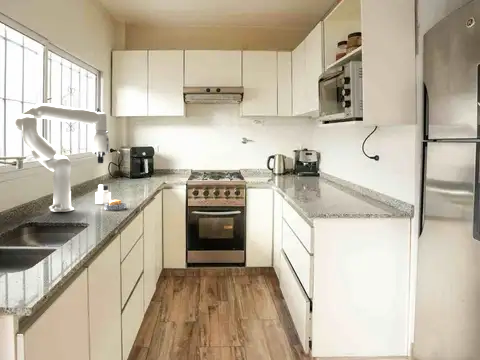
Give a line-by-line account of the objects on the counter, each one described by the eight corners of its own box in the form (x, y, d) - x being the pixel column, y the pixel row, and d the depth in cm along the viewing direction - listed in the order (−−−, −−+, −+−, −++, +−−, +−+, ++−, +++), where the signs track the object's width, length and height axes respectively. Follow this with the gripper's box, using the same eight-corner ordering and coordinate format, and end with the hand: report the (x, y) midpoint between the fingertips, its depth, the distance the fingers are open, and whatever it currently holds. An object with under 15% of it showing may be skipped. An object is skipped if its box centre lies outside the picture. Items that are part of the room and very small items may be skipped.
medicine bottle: (104, 202, 309) (104, 184, 308) (111, 203, 304) (111, 184, 303) (95, 203, 303) (94, 184, 302) (101, 204, 299) (101, 185, 298)
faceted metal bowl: (119, 210, 275) (119, 205, 274) (100, 209, 277) (100, 204, 277) (129, 207, 287) (129, 202, 286) (110, 206, 290) (110, 201, 289)
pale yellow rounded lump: (117, 208, 278) (117, 201, 278) (106, 208, 280) (106, 201, 279) (123, 206, 285) (123, 200, 284) (112, 206, 286) (112, 199, 286)
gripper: (114, 133, 290) (114, 163, 291) (92, 132, 294) (93, 162, 295) (107, 133, 283) (108, 163, 284) (85, 132, 286) (86, 163, 288)
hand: (100, 163), depth 290 cm, fingers closed
